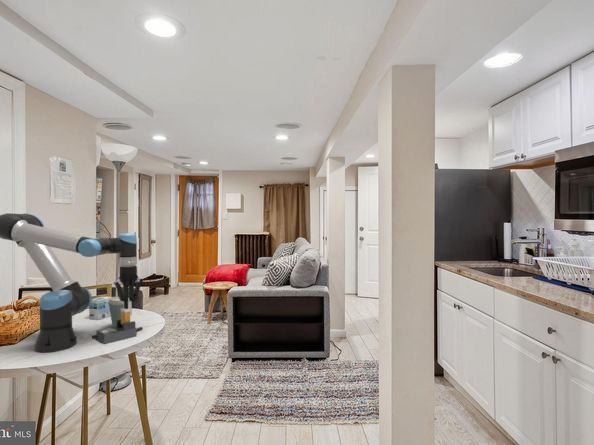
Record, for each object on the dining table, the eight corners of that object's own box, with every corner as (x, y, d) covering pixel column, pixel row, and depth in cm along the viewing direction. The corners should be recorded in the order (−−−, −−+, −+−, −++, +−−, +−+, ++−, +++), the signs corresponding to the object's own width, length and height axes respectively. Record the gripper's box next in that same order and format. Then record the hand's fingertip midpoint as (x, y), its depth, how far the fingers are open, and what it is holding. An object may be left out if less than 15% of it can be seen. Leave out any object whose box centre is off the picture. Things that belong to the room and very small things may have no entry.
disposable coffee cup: (132, 323, 190) (132, 295, 190) (128, 329, 180) (128, 299, 180) (111, 324, 188) (110, 296, 188) (105, 330, 177) (105, 300, 177)
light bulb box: (98, 320, 197) (98, 300, 197) (88, 319, 199) (88, 299, 199) (113, 315, 208) (113, 296, 207) (103, 314, 209) (103, 296, 209)
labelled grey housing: (104, 344, 158) (104, 328, 158) (96, 339, 165) (96, 323, 165) (136, 336, 168) (136, 321, 168) (127, 332, 175) (127, 317, 175)
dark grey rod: (92, 338, 165) (92, 335, 165) (91, 338, 166) (91, 335, 166) (134, 329, 179) (134, 326, 179) (132, 329, 180) (132, 326, 180)
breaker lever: (125, 328, 167) (125, 310, 167) (120, 326, 170) (120, 308, 170) (130, 327, 169) (130, 309, 168) (125, 324, 172) (125, 307, 172)
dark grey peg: (134, 332, 174) (134, 329, 174) (132, 332, 175) (132, 329, 175) (142, 329, 179) (142, 327, 179) (140, 329, 179) (140, 326, 179)
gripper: (117, 267, 163) (118, 319, 164) (145, 264, 173) (146, 313, 173) (110, 266, 168) (111, 316, 169) (138, 263, 178) (139, 311, 178)
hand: (129, 314), depth 171 cm, fingers closed
